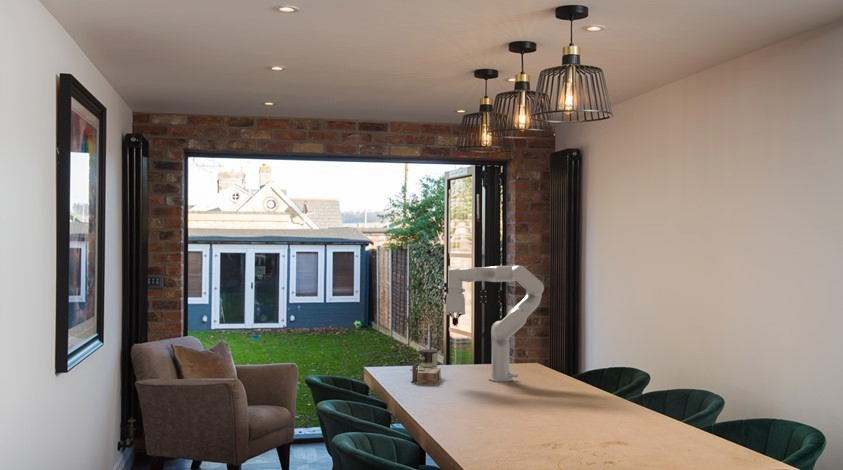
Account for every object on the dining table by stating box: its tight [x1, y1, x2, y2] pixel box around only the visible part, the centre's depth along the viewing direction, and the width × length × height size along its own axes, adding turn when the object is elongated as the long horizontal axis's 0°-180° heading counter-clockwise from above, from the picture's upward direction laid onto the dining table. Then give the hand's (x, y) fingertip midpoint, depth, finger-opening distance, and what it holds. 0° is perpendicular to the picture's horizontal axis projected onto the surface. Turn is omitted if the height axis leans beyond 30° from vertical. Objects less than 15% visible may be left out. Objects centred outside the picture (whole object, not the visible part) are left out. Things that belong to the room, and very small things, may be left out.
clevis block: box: [410, 362, 442, 386], centre depth 418 cm, size 14×18×9 cm
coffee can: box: [418, 348, 438, 370], centre depth 437 cm, size 10×10×14 cm
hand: (455, 325), depth 424 cm, fingers closed
